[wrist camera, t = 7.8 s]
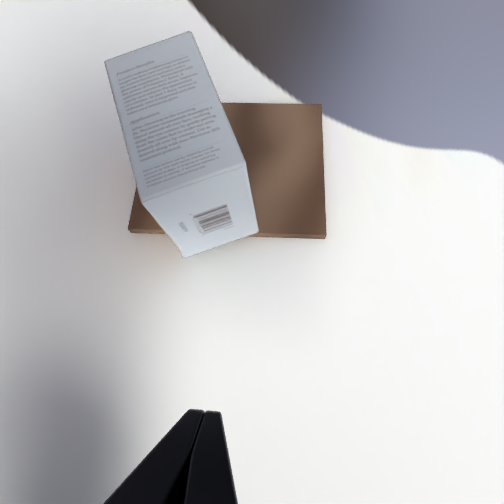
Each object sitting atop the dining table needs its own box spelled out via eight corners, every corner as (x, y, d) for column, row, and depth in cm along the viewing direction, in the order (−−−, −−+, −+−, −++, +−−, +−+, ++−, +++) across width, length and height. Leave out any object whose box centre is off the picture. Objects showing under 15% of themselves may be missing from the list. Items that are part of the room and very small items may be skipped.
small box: (184, 261, 24) (151, 147, 28) (262, 233, 24) (217, 123, 28) (136, 201, 17) (100, 58, 21) (247, 161, 17) (189, 26, 21)
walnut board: (130, 232, 26) (127, 228, 25) (156, 107, 30) (154, 101, 30) (324, 238, 25) (326, 235, 24) (320, 110, 30) (321, 104, 29)
